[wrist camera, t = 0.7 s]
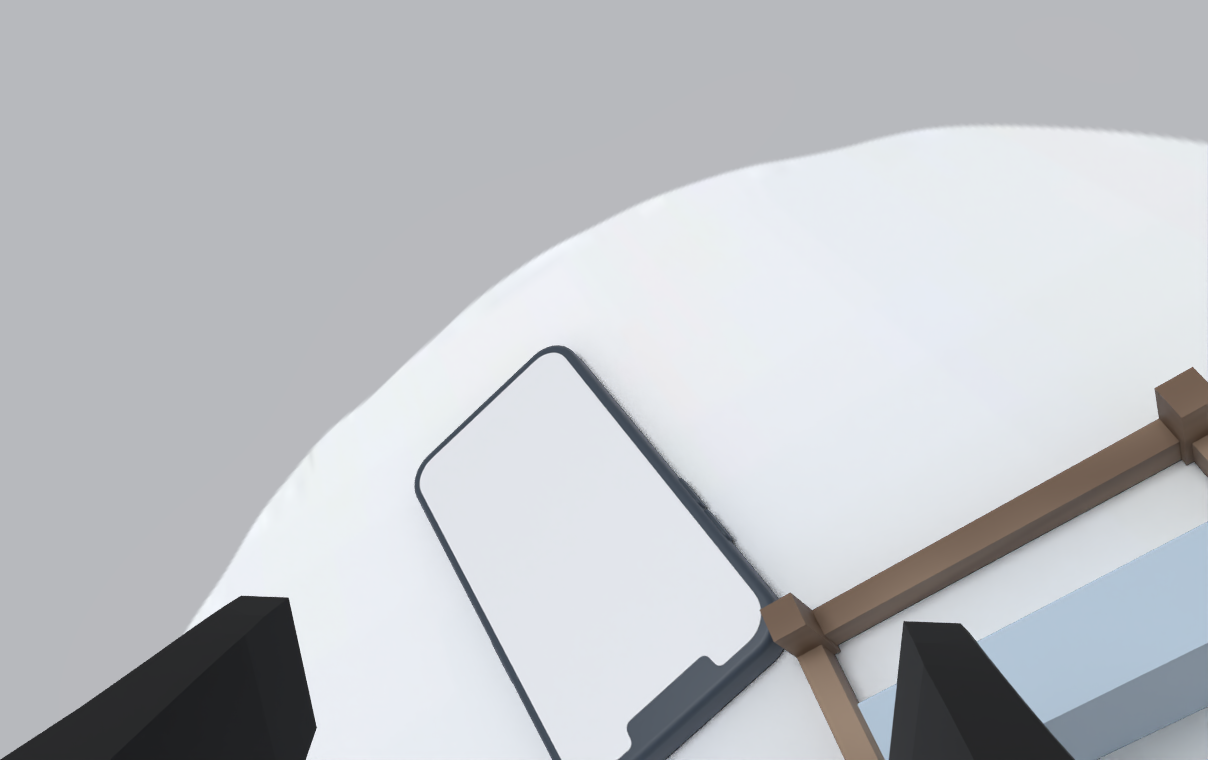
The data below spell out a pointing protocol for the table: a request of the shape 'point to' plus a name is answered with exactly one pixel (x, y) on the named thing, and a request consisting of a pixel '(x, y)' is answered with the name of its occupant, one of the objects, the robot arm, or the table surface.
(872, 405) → the table surface
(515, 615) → the phone case
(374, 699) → the table surface
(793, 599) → the frame
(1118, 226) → the table surface
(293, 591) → the table surface
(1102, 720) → the panel
